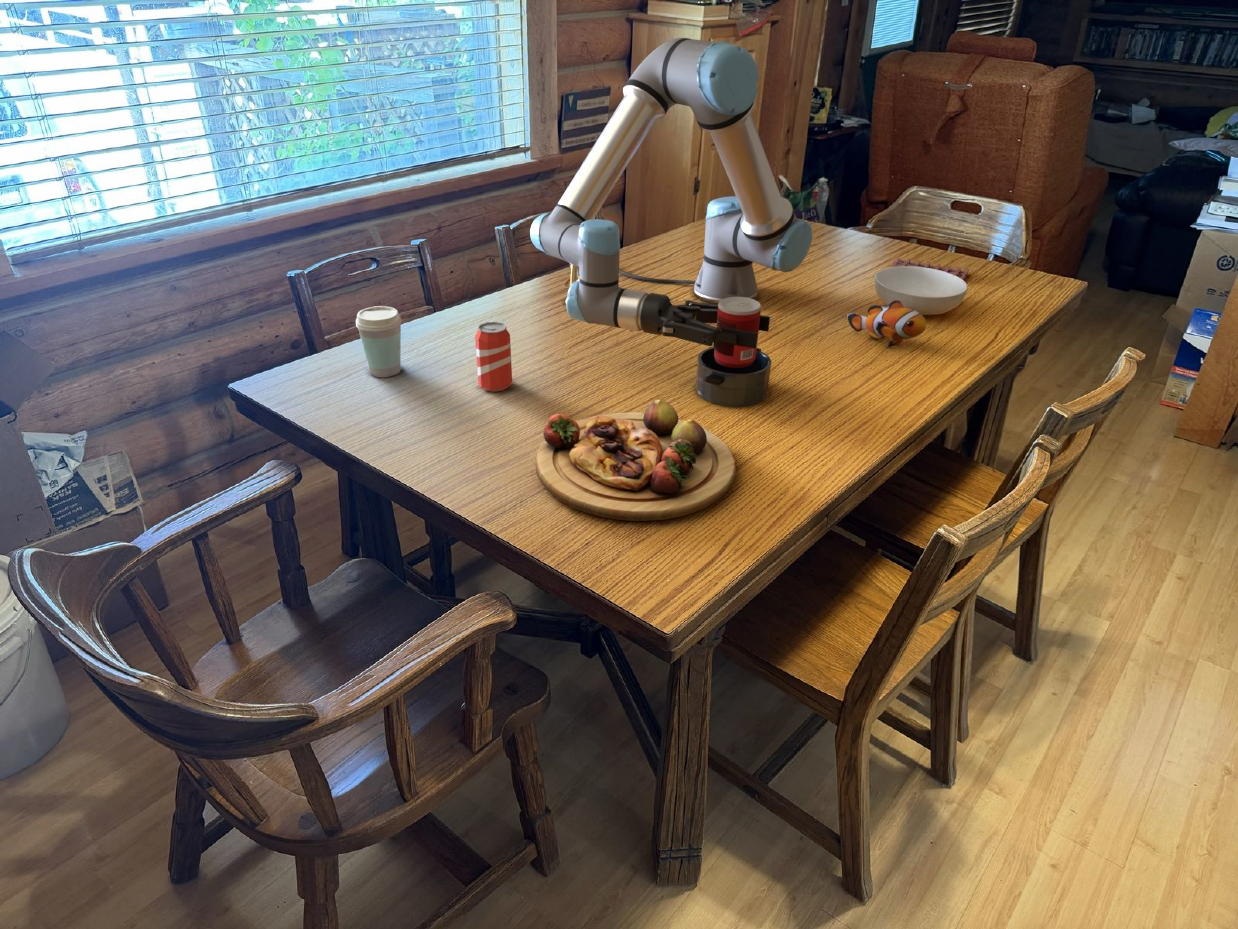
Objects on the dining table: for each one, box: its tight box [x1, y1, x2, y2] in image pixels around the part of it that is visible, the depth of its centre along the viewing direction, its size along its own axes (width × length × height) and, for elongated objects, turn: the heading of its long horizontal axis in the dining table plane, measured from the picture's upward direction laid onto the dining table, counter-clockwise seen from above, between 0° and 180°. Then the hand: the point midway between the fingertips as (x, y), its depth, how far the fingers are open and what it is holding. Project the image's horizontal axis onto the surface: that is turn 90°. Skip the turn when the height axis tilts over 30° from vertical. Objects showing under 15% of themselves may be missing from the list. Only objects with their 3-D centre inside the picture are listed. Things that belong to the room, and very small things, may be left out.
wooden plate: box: [535, 399, 737, 522], centre depth 139 cm, size 32×32×8 cm
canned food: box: [714, 297, 762, 368], centre depth 160 cm, size 8×8×11 cm
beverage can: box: [474, 321, 513, 393], centre depth 163 cm, size 6×6×12 cm
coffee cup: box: [355, 305, 403, 378], centre depth 168 cm, size 8×8×12 cm
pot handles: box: [705, 347, 762, 386], centre depth 164 cm, size 3×18×1 cm, turn 147°
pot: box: [695, 346, 773, 408], centre depth 165 cm, size 14×14×6 cm
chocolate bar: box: [890, 257, 970, 281], centre depth 229 cm, size 7×19×2 cm, turn 61°
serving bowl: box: [873, 266, 969, 316], centre depth 205 cm, size 21×21×7 cm
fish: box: [846, 300, 927, 349], centre depth 186 cm, size 10×18×10 cm, turn 44°
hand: (762, 332), depth 158 cm, fingers closed on canned food, 8 cm apart
